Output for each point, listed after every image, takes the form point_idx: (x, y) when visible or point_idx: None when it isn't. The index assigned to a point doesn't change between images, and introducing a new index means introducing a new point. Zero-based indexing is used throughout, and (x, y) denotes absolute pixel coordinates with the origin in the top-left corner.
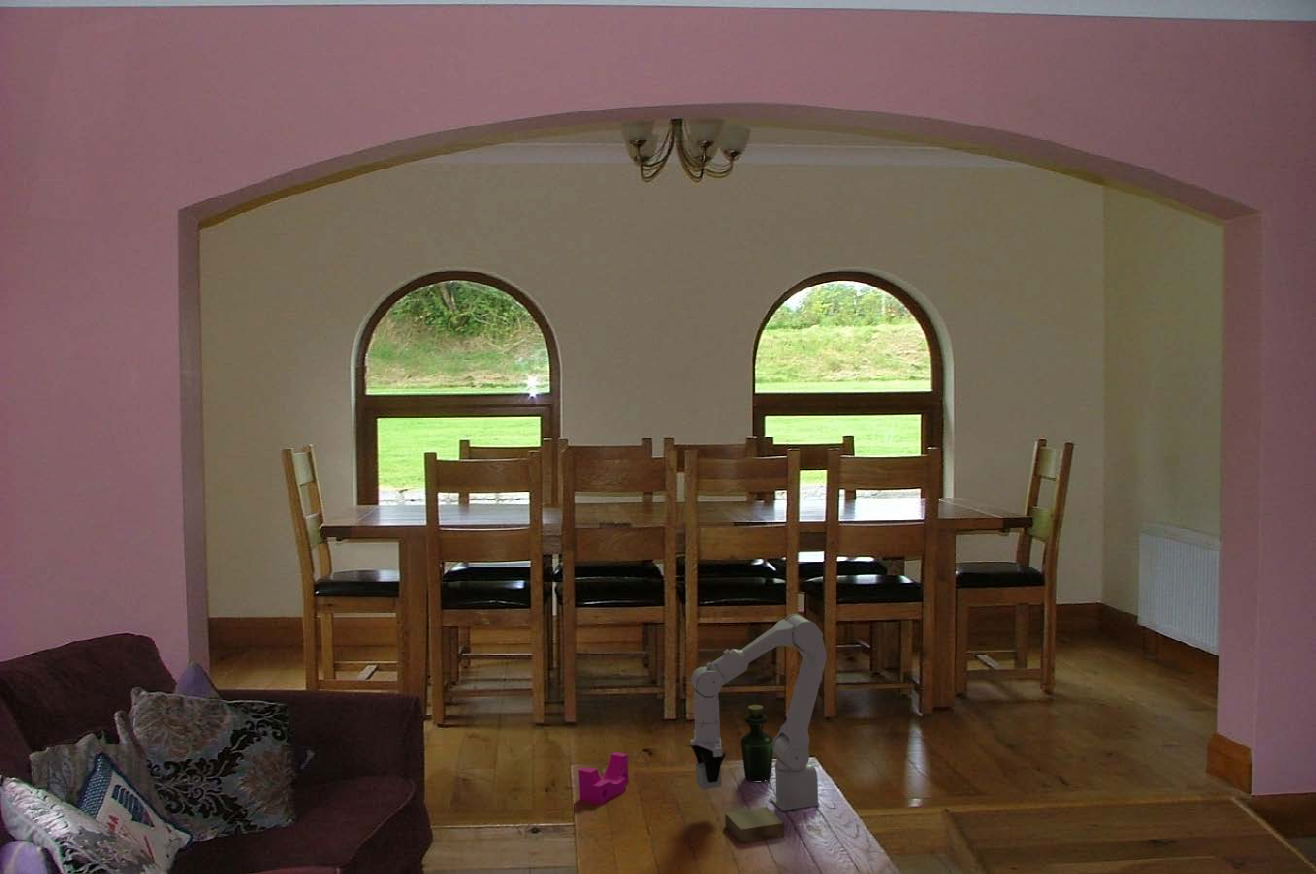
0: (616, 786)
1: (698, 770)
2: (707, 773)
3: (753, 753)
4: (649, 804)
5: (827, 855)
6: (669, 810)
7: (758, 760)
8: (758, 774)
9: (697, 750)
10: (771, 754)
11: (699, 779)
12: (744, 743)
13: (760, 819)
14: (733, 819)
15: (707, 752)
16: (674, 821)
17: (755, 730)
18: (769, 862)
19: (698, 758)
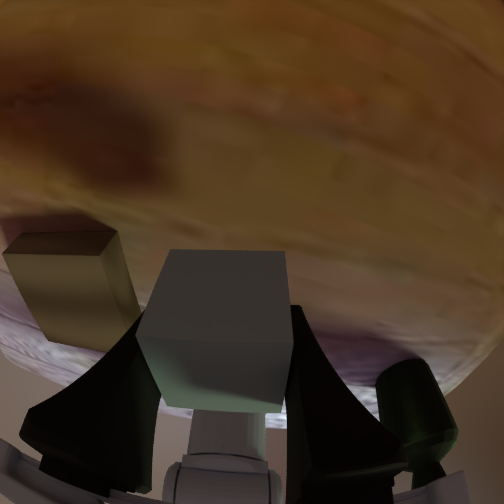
0: None
1: (226, 317)
2: (121, 337)
3: (399, 429)
4: (426, 54)
5: (7, 331)
6: (337, 90)
7: (388, 419)
8: (383, 389)
9: (305, 453)
10: None
11: (218, 275)
12: (428, 438)
13: (58, 315)
14: (54, 260)
15: (85, 471)
16: (210, 71)
17: (419, 475)
18: None
19: (297, 391)
